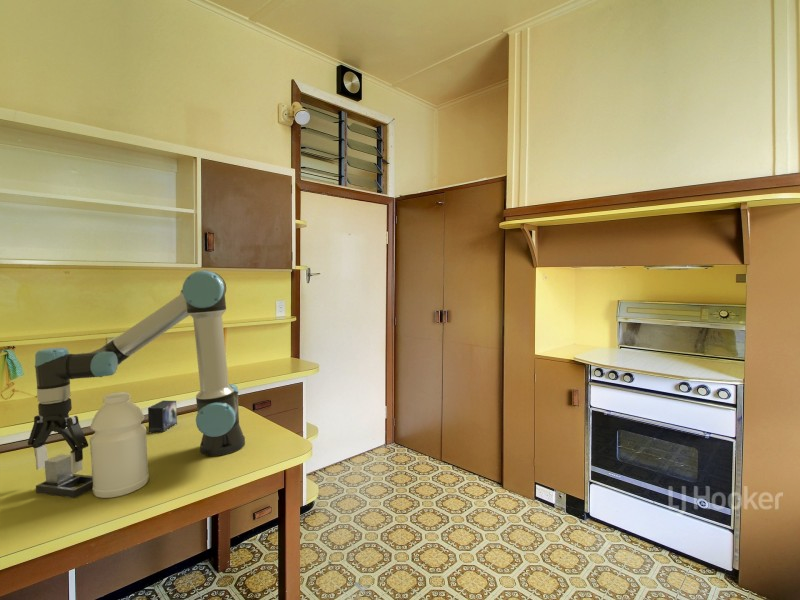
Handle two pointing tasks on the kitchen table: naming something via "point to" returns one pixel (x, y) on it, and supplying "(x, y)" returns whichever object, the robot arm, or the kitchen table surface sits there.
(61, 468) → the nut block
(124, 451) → the bottle
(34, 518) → the kitchen table surface
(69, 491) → the divided tray
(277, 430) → the kitchen table surface
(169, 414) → the small box
